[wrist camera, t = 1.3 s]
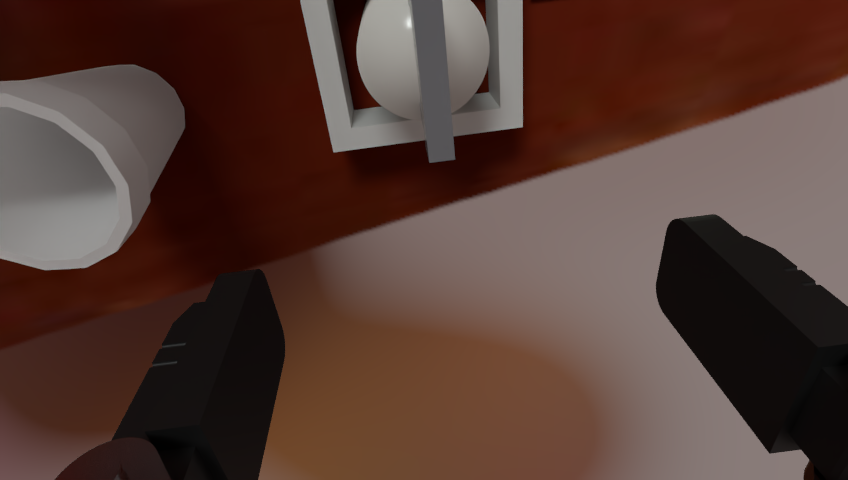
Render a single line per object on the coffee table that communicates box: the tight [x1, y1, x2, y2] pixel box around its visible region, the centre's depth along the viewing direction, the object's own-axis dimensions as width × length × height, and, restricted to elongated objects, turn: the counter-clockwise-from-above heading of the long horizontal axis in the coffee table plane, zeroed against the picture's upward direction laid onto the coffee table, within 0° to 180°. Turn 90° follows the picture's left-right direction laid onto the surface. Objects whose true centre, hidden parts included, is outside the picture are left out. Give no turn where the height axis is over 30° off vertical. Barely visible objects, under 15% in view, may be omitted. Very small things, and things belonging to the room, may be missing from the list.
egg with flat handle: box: [356, 0, 490, 163], centre depth 27 cm, size 7×7×15 cm
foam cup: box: [0, 65, 185, 270], centre depth 29 cm, size 10×9×13 cm
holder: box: [300, 0, 523, 152], centre depth 32 cm, size 13×13×4 cm
